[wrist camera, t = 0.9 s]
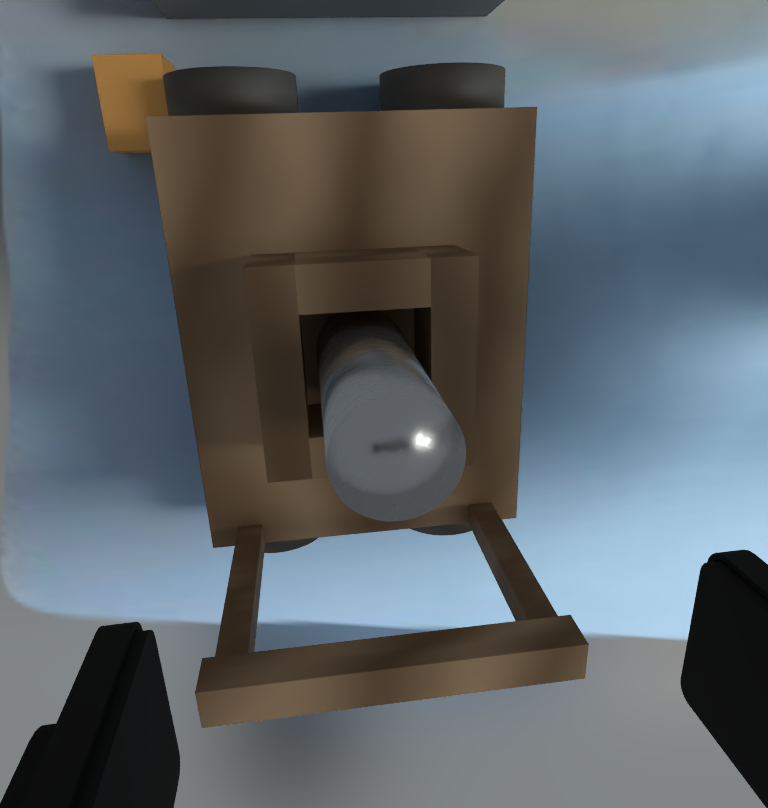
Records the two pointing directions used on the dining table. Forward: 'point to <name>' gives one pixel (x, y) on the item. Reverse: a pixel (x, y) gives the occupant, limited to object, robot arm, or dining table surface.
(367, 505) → the pin
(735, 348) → the dining table surface
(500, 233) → the trolley
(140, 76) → the orange block
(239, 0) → the tray
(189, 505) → the dining table surface
